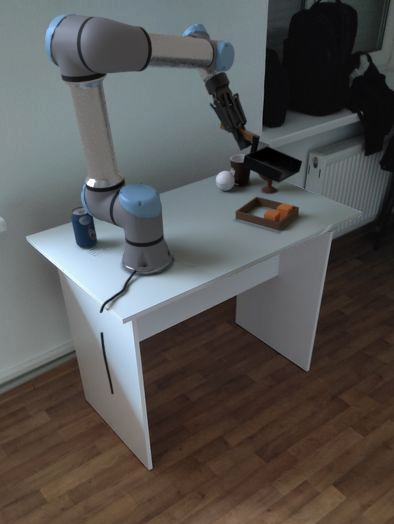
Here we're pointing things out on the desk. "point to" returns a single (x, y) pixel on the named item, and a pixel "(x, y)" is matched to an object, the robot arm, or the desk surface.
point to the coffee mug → (239, 170)
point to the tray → (264, 222)
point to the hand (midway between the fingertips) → (246, 147)
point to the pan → (268, 159)
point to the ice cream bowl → (268, 185)
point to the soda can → (83, 228)
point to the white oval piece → (225, 180)
